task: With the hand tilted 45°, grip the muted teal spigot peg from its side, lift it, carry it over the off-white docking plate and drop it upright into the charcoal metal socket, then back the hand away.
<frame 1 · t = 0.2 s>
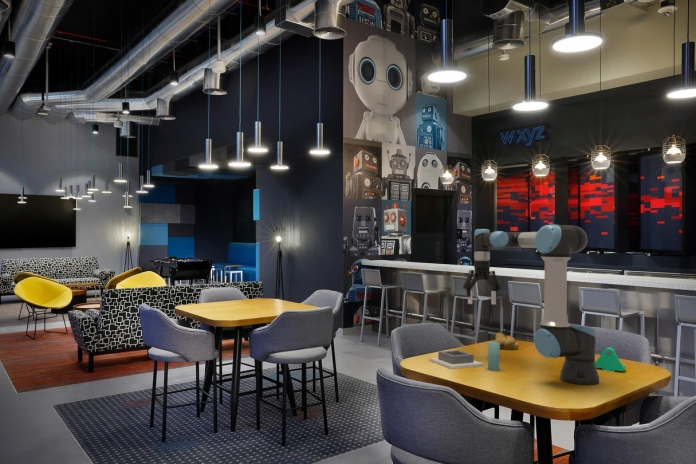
hand: (481, 304, 265), 27 cm above the table, tool pointing down, fingers open, 13 cm apart
spigot peg: (493, 369, 244), on the table
bread roll: (506, 349, 294), on the table
dock: (455, 363, 255), on the table
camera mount: (609, 370, 249), on the table
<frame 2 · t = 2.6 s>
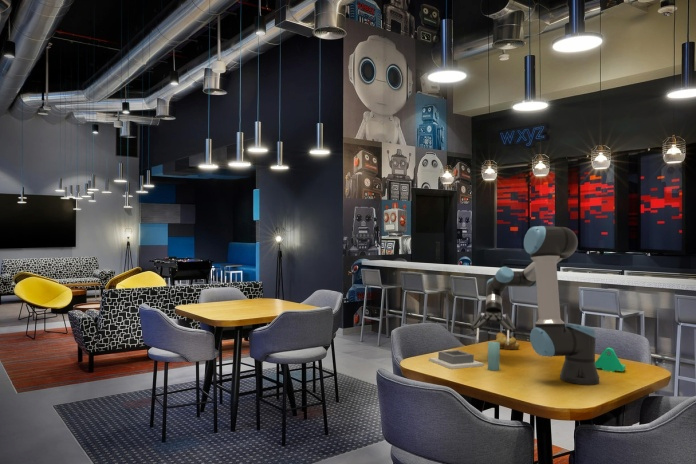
hand: (492, 342, 250), 11 cm above the table, tool tilted 45°, fingers open, 13 cm apart
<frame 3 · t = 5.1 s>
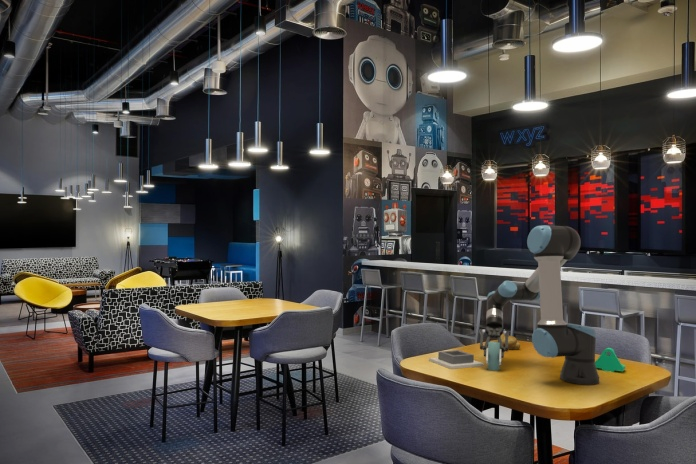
hand: (493, 362, 240), 4 cm above the table, tool tilted 45°, fingers closed on spigot peg, 5 cm apart
spigot peg: (493, 369, 244), on the table, touching gripper
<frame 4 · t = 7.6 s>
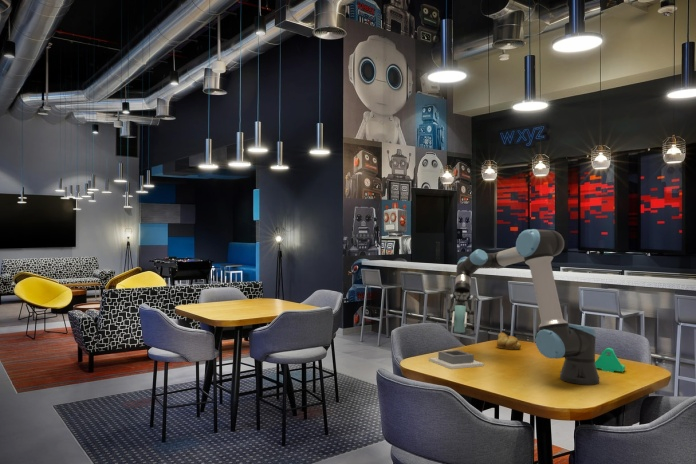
hand: (459, 324, 251), 19 cm above the table, tool tilted 45°, fingers closed on spigot peg, 5 cm apart
spigot peg: (459, 331, 255), point 15 cm above the table, touching gripper
when the fingers open (7 cm above the table, at t = 10.2 s): spigot peg drops 2 cm, resting on dock.
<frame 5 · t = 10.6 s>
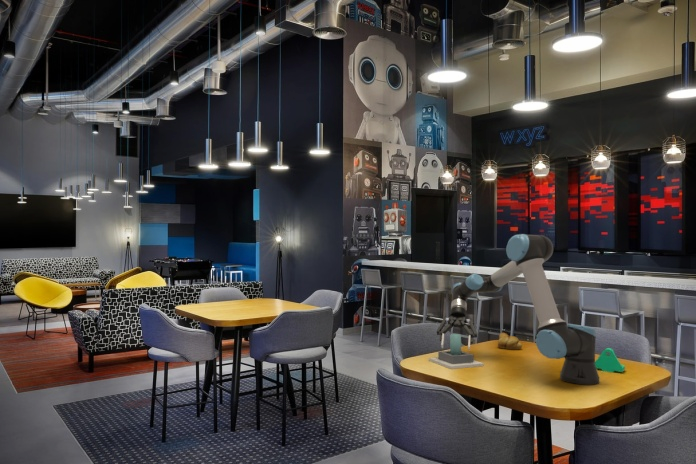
hand: (455, 347, 252), 8 cm above the table, tool tilted 45°, fingers open, 11 cm apart
spigot peg: (455, 360, 255), point 1 cm above the table, touching dock
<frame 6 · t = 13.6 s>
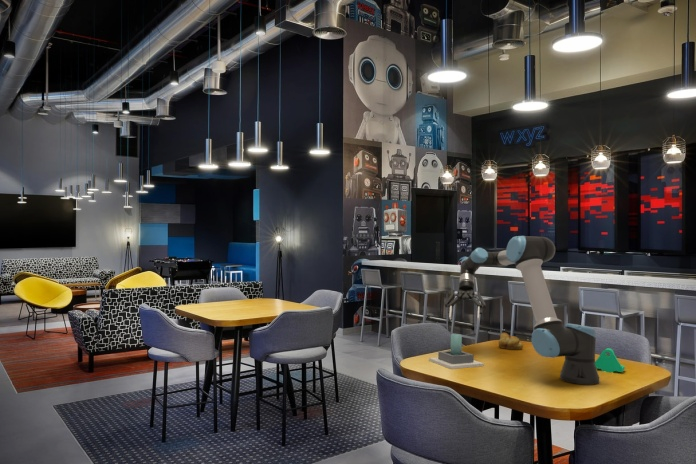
hand: (464, 318, 266), 19 cm above the table, tool tilted 40°, fingers open, 13 cm apart
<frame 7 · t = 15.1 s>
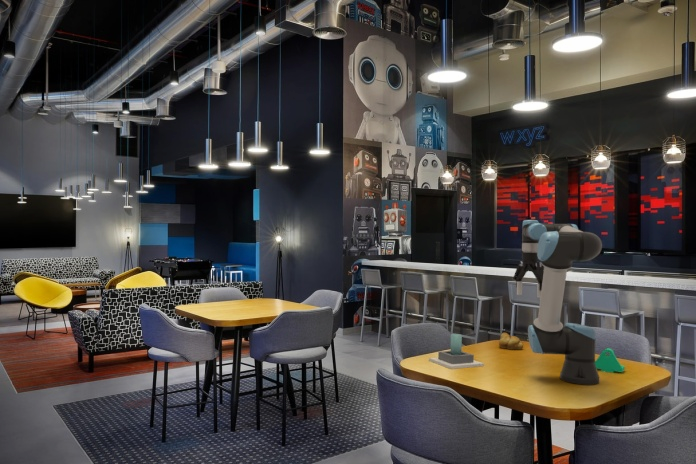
hand: (529, 296, 262), 32 cm above the table, tool pointing down, fingers open, 13 cm apart
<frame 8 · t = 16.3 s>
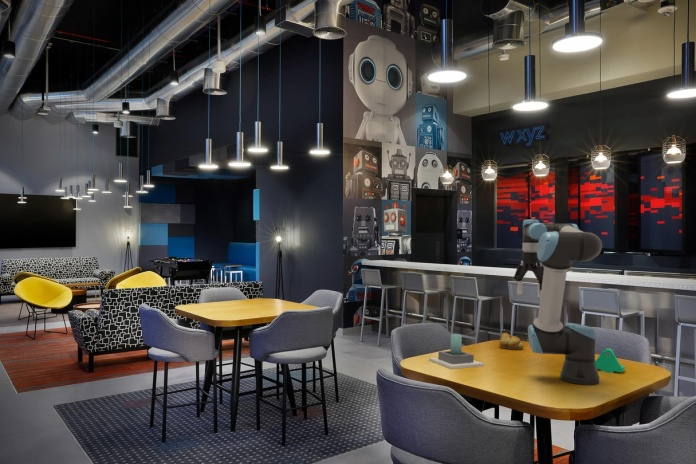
hand: (529, 295, 262), 32 cm above the table, tool pointing down, fingers open, 13 cm apart
at the end: spigot peg 0.1 cm off-centre on the dock, point 1.2 cm above the dock's base; spigot peg tilted 0°; the gripper is holding nothing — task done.
